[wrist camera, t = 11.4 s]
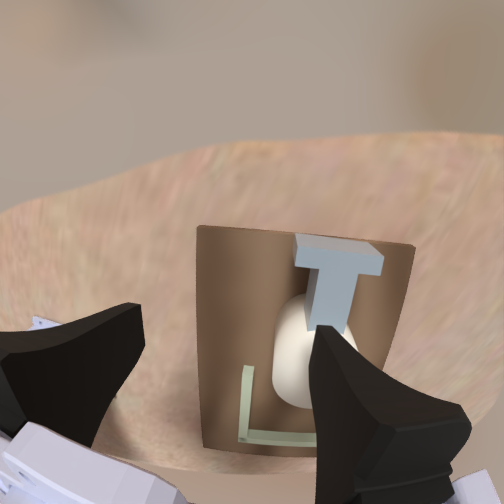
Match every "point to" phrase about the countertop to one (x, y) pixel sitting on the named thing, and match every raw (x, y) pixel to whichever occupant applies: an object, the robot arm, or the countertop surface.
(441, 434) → the robot arm
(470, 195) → the countertop surface
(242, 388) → the cradle
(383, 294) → the board
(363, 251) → the white blue t-bar grip
